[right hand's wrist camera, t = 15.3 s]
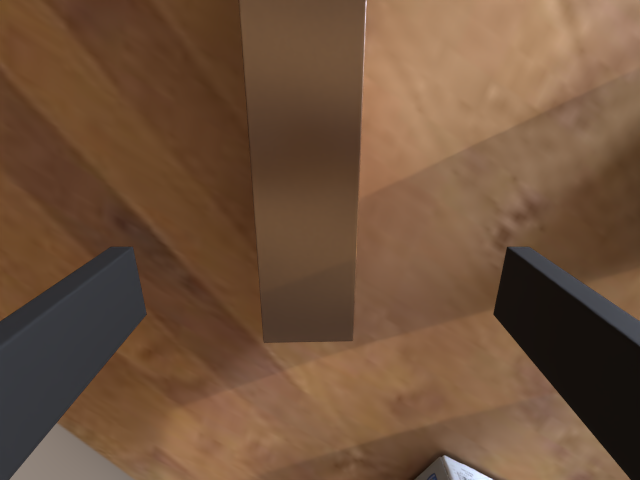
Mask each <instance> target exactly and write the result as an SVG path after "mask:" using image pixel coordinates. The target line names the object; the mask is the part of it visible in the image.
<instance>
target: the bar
mask: <svg viewBox="0 0 640 480" xmlns="http://www.w3.org/2000/svg"><path fill="white" fill-rule="evenodd" d="M366 2H367V0H239V11H240V24H241V38H242V52H243V66H244V79H245V93H246V107H247V120H248V134H249V148H250V162H251V175H252V189H253V203H254V217H255V230H256V244H257V258H258V271H259V285H260V299H261V313H262V326H263V340H264V343H271V342H327V341H353V330H354V305H355V279H356V254H357V229H358V204H359V179H360V153H361V128H362V103H363V78H364V53H365V27H366Z"/></svg>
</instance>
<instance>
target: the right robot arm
mask: <svg viewBox="0 0 640 480" xmlns="http://www.w3.org/2000/svg"><path fill="white" fill-rule="evenodd" d="M146 315H147V314H146V309H145V304H144V299H143V294H142V289H141V284H140V279H139V275H138V270H137V265H136V260H135V255H134V250H133V247H110V248H108V249H107V250H106V251H104V252H103V253H101V254H100V255H98V256H97V257H95V258H94V259H92V260H91V261H89V262H88V263H86V264H85V265H83V266H82V267H80V268H79V269H77V270H76V271H74V272H73V273H71V274H70V275H68V276H67V277H65V278H64V279H62V280H61V281H60V282H58V283H57V284H55V285H54V286H52V287H51V288H49V289H48V290H46V291H45V292H43V293H42V294H40V295H39V296H37V297H36V298H34V299H33V300H31V301H30V302H28V303H27V304H25V305H24V306H22V307H21V308H19V309H18V310H17V311H15V312H14V313H12V314H11V315H9V316H8V317H6V318H5V319H3V320H2V321H0V480H9V479H10V478H11V477H12V476H13V474H14V473H15V472H16V471H17V470H18V468H19V467H20V466H21V465H22V464H23V462H24V461H25V460H26V459H27V458H28V456H29V455H30V454H31V453H32V452H33V450H34V449H35V448H36V447H37V446H38V444H39V443H40V442H41V441H42V440H43V438H44V437H45V436H46V435H47V434H48V432H49V431H50V430H51V429H52V428H53V426H54V425H55V424H56V423H57V422H58V420H59V419H60V418H61V417H62V416H63V414H64V413H65V412H66V411H67V410H68V408H69V407H70V406H71V405H72V404H73V402H74V401H75V400H76V399H77V398H78V396H79V395H80V394H81V393H82V392H83V390H84V389H85V388H86V387H87V385H88V384H89V383H90V382H91V381H92V379H93V378H94V377H95V376H96V375H97V373H98V372H99V371H100V370H101V369H102V367H103V366H104V365H105V364H106V363H107V361H108V360H109V359H110V358H111V357H112V355H113V354H114V353H115V352H116V351H117V349H118V348H119V347H120V346H121V345H122V343H123V342H124V341H125V340H126V339H127V337H128V336H129V335H130V334H131V333H132V331H133V330H134V329H135V328H136V327H137V325H138V324H139V323H140V322H141V321H142V319H143V318H144V317H145V316H146ZM493 315H494V316H495V317H496V318H497V319H498V321H499V322H500V323H501V324H502V325H503V327H504V328H505V329H506V330H507V331H508V333H509V334H510V335H511V336H512V337H513V339H514V340H515V341H516V342H517V343H518V345H519V346H520V347H521V348H522V349H523V351H524V352H525V353H526V354H527V355H528V357H529V358H530V359H531V360H532V361H533V363H534V364H535V365H536V366H537V367H538V369H539V370H540V371H541V372H542V373H543V375H544V376H545V377H546V378H547V379H548V381H549V382H550V383H551V384H552V385H553V387H554V388H555V389H556V390H557V391H558V393H559V394H560V395H561V396H562V398H563V399H564V400H565V401H566V402H567V404H568V405H569V406H570V407H571V408H572V410H573V411H574V412H575V413H576V414H577V416H578V417H579V418H580V419H581V420H582V422H583V423H584V424H585V425H586V426H587V428H588V429H589V430H590V431H591V432H592V434H593V435H594V436H595V437H596V438H597V440H598V441H599V442H600V443H601V444H602V446H603V447H604V448H605V449H606V450H607V452H608V453H609V454H610V455H611V456H612V458H613V459H614V460H615V461H616V462H617V464H618V465H619V466H620V467H621V468H622V470H623V471H624V472H625V473H626V474H627V476H628V477H629V478H630V479H631V480H640V321H638V320H637V319H635V318H634V317H632V316H631V315H629V314H628V313H626V312H625V311H623V310H622V309H621V308H619V307H618V306H616V305H615V304H613V303H612V302H610V301H609V300H607V299H606V298H604V297H603V296H601V295H600V294H598V293H597V292H595V291H594V290H592V289H591V288H589V287H588V286H586V285H585V284H583V283H582V282H580V281H579V280H578V279H576V278H575V277H573V276H572V275H570V274H569V273H567V272H566V271H564V270H563V269H561V268H560V267H558V266H557V265H555V264H554V263H552V262H551V261H549V260H548V259H546V258H545V257H543V256H542V255H540V254H539V253H537V252H536V251H534V250H533V249H532V248H530V247H507V250H506V255H505V260H504V265H503V270H502V275H501V279H500V284H499V289H498V294H497V299H496V304H495V309H494V314H493Z"/></svg>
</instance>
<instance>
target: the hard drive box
mask: <svg viewBox="0 0 640 480" xmlns="http://www.w3.org/2000/svg"><path fill="white" fill-rule="evenodd" d="M415 480H493V479H491V478H489V477H487V476H485V475H483V474H481V473H479V472H477V471H476V470H474V469H472V468H470V467H468V466H466V465H464V464H461V463H459V462H457V461H455V460H453V459H451V458H449V457H447V456H445V455H443V456H442V457H438V458H437V459H436V460H435V461H434V462H433V463H432V464H431V465H430V466H429V467H428V468H427V469H425V470H424V471H423V472H422V473H421V474H420V475H419V476H418V477H417V478H416V479H415Z"/></svg>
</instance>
